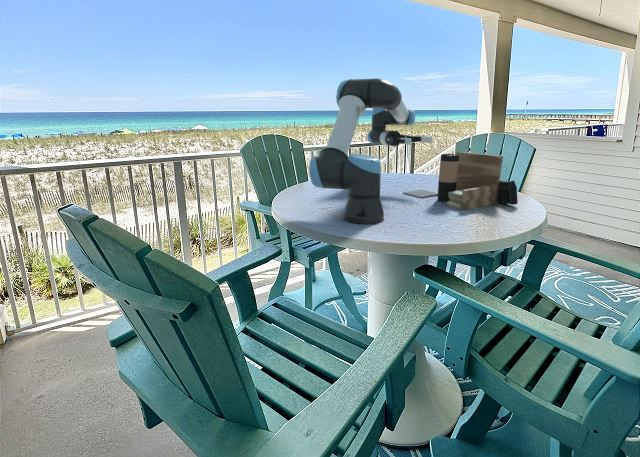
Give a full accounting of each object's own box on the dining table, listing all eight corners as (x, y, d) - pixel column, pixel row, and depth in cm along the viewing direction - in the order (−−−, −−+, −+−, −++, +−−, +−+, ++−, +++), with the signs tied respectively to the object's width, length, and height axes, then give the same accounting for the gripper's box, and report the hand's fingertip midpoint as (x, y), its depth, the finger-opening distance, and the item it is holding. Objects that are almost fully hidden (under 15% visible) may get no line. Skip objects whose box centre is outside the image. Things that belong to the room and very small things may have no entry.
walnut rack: (463, 210, 147) (469, 159, 141) (422, 200, 165) (426, 154, 159) (496, 203, 157) (502, 156, 151) (454, 194, 175) (458, 151, 169)
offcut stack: (461, 209, 149) (463, 195, 147) (446, 206, 155) (447, 192, 153) (485, 204, 158) (487, 190, 156) (470, 200, 164) (471, 187, 162)
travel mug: (436, 201, 161) (440, 155, 155) (436, 198, 168) (440, 153, 162) (455, 202, 159) (460, 156, 153) (454, 198, 166) (459, 153, 160)
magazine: (525, 186, 146) (482, 156, 170) (517, 187, 146) (476, 156, 170) (510, 222, 156) (472, 189, 180) (503, 223, 155) (466, 189, 179)
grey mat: (421, 198, 168) (421, 196, 168) (402, 193, 178) (403, 192, 178) (439, 195, 174) (439, 193, 174) (421, 190, 184) (421, 189, 184)
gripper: (408, 144, 195) (439, 147, 178) (371, 147, 183) (400, 150, 166) (409, 129, 193) (440, 131, 176) (371, 131, 181) (401, 133, 163)
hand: (421, 140), depth 171 cm, fingers open, 13 cm apart
